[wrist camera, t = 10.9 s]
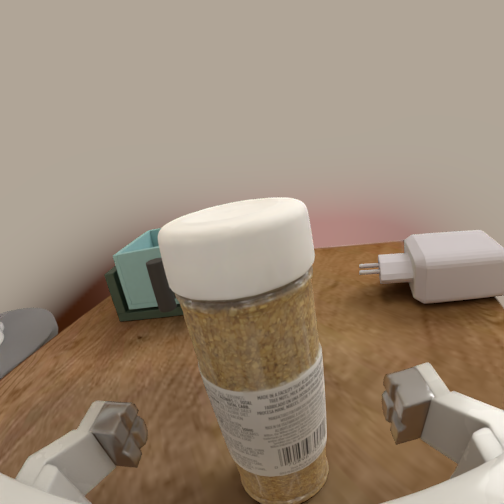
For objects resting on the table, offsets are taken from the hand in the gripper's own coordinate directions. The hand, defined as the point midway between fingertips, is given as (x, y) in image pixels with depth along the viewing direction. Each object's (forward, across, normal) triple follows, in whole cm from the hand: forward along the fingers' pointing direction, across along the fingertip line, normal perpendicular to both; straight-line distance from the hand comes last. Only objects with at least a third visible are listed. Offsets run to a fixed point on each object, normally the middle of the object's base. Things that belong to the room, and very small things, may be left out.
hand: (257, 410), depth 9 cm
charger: (+20, -17, +8) cm, 27 cm away
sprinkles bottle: (+2, 0, +8) cm, 8 cm away
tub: (+27, +10, +6) cm, 30 cm away
